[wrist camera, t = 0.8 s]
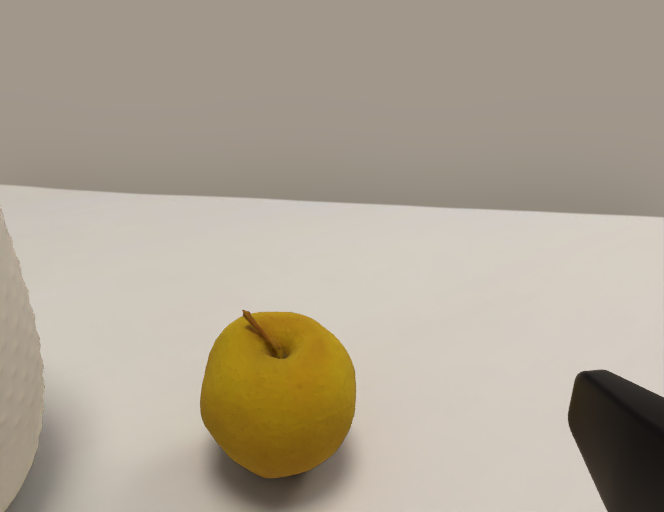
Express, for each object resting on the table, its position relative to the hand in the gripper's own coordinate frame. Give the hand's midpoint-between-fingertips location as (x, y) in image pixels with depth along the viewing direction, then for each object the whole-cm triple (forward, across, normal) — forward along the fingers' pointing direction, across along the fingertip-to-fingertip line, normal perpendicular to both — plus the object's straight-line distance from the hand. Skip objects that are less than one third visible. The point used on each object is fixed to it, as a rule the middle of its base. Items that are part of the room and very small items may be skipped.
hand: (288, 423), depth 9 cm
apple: (+15, -1, +14) cm, 21 cm away
